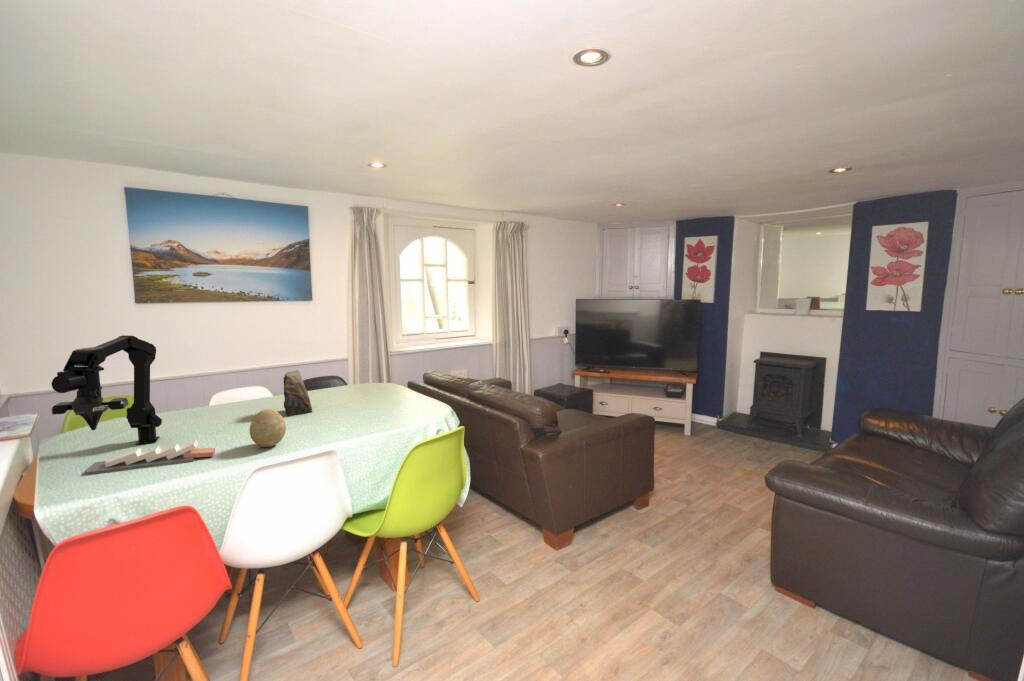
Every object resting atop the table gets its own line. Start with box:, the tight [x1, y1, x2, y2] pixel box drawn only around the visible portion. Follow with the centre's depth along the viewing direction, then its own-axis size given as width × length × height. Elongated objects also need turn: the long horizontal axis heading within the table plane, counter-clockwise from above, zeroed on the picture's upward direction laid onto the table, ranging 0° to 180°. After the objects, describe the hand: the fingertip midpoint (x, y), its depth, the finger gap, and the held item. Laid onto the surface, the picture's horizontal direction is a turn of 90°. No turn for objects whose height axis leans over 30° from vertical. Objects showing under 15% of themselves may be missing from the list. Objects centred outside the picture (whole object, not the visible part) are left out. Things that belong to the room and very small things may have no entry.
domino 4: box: [166, 439, 199, 460], centre depth 167 cm, size 5×2×9 cm
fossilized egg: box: [249, 408, 287, 448], centre depth 180 cm, size 13×13×15 cm
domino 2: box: [125, 445, 162, 465], centre depth 162 cm, size 5×2×9 cm
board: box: [83, 453, 196, 476], centre depth 162 cm, size 9×30×1 cm, turn 115°
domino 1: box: [104, 447, 142, 467], centre depth 160 cm, size 5×2×9 cm
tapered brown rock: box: [283, 370, 313, 417], centre depth 225 cm, size 13×13×20 cm
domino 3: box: [145, 442, 180, 463], centre depth 164 cm, size 5×2×9 cm
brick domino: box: [183, 447, 216, 458], centre depth 169 cm, size 5×2×9 cm
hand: (94, 429), depth 158 cm, fingers closed
